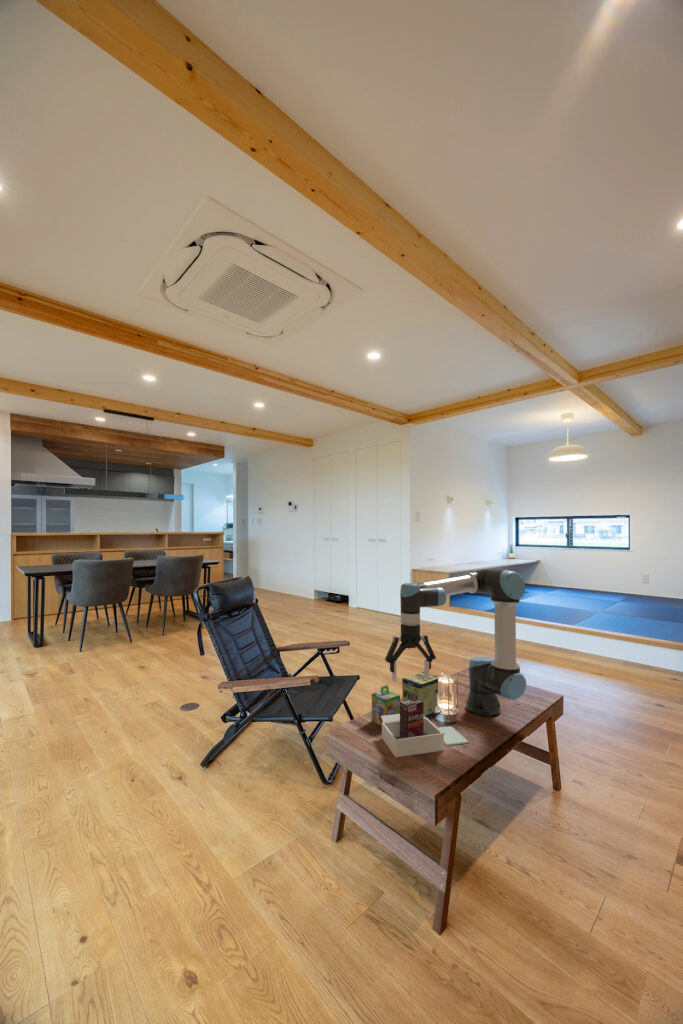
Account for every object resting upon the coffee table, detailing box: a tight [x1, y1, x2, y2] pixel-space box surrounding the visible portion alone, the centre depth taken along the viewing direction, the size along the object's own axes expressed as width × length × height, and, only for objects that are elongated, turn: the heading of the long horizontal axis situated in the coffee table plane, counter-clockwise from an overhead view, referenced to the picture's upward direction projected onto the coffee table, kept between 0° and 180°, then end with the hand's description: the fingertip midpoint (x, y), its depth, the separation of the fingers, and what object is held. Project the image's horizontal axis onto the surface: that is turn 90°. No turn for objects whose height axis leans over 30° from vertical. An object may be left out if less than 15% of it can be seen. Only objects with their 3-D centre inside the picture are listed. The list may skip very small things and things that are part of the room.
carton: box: [381, 714, 446, 758], centre depth 154 cm, size 19×20×7 cm
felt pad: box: [437, 725, 469, 747], centre depth 160 cm, size 9×13×1 cm
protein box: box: [401, 671, 438, 719], centre depth 182 cm, size 10×16×16 cm
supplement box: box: [399, 698, 425, 739], centre depth 154 cm, size 9×5×16 cm, turn 123°
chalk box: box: [371, 684, 401, 727], centre depth 172 cm, size 9×9×15 cm
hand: (410, 679), depth 155 cm, fingers open, 13 cm apart
